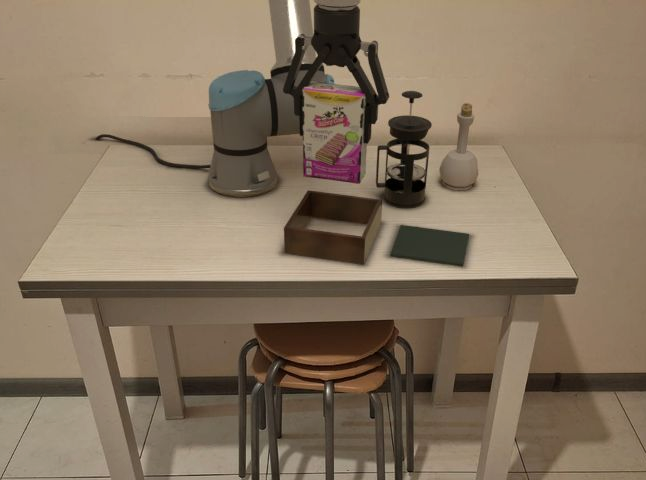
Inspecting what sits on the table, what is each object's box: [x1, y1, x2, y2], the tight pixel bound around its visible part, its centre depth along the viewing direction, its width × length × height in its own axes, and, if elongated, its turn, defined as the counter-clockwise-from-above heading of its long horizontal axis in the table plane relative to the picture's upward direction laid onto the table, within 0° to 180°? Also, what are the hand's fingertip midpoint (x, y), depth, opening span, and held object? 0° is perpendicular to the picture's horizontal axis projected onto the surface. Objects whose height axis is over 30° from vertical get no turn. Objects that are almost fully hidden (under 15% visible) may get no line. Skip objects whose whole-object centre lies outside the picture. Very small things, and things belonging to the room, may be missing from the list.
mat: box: [389, 224, 470, 267], centre depth 137 cm, size 14×12×1 cm
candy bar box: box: [302, 81, 368, 185], centre depth 125 cm, size 11×5×16 cm, turn 77°
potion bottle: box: [439, 102, 479, 191], centre depth 154 cm, size 9×9×18 cm
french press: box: [375, 90, 433, 209], centre depth 146 cm, size 12×9×23 cm
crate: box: [283, 189, 383, 265], centre depth 137 cm, size 16×17×6 cm
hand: (335, 137), depth 126 cm, fingers closed on candy bar box, 11 cm apart
